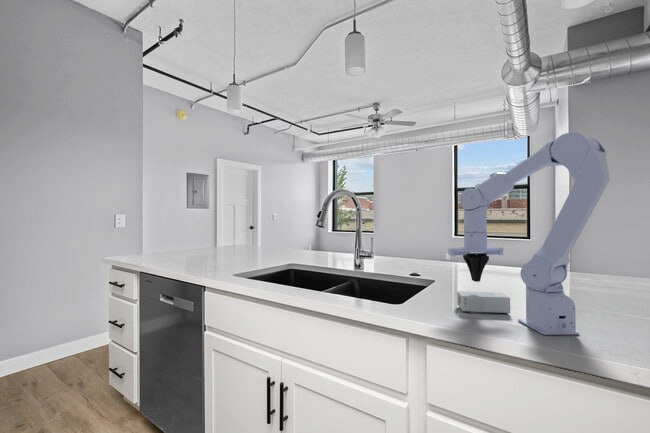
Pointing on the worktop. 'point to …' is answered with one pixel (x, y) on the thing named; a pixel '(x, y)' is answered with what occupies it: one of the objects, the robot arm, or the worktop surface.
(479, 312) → the mat
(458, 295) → the skincare box
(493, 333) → the worktop surface
